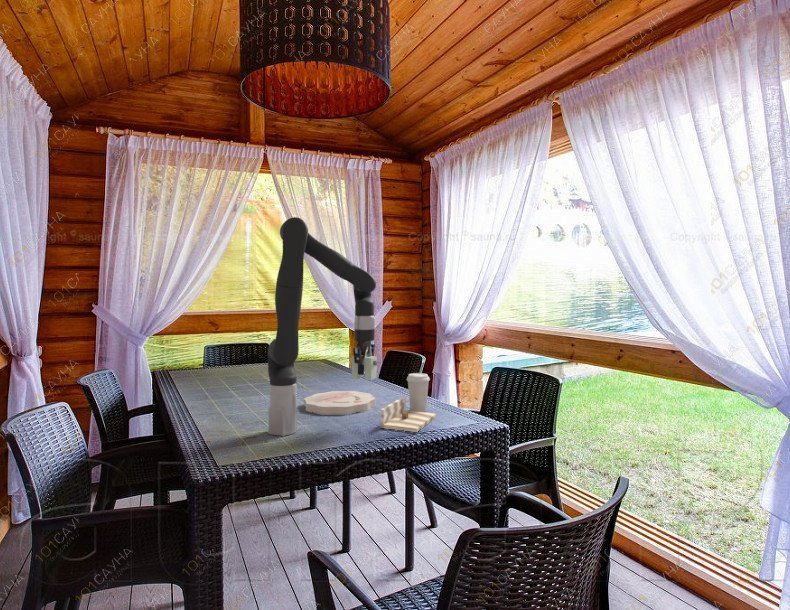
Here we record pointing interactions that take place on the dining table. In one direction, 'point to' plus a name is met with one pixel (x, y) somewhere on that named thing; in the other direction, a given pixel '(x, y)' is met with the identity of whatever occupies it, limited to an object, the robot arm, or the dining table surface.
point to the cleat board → (411, 421)
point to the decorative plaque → (339, 402)
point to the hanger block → (366, 368)
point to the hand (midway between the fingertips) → (364, 373)
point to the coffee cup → (418, 391)
